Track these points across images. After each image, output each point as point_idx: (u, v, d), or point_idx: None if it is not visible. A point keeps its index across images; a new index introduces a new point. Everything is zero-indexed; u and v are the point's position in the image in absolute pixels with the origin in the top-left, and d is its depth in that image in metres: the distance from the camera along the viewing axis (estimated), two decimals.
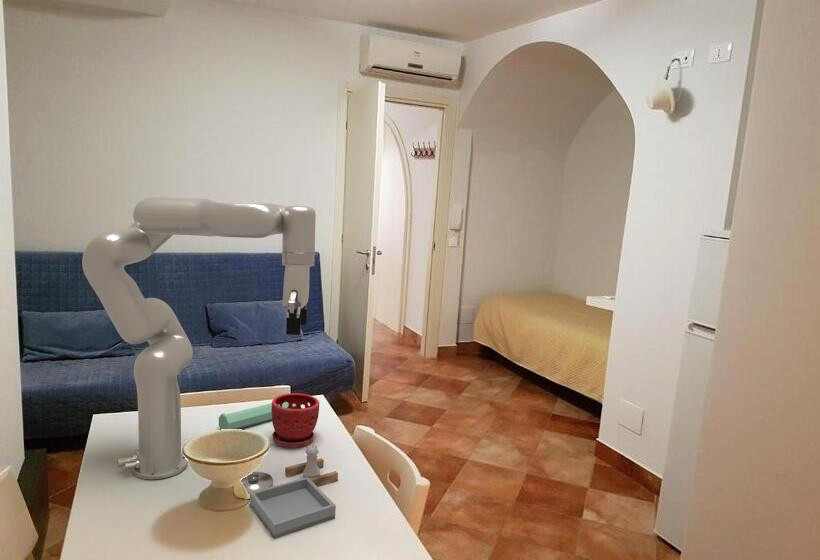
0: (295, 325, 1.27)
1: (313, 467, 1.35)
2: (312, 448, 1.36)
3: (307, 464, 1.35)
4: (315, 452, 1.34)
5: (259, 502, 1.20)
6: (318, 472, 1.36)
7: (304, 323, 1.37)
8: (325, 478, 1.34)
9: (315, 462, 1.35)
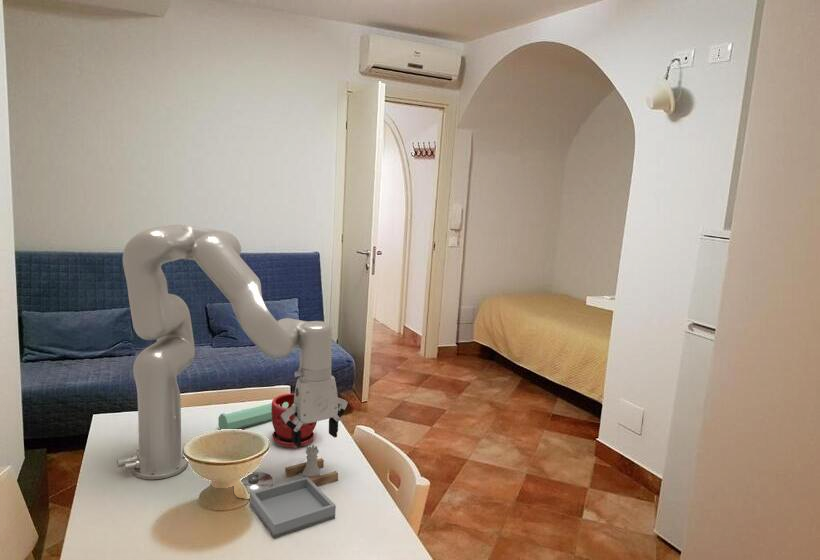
0: None
1: (313, 467, 1.35)
2: (312, 448, 1.36)
3: (307, 464, 1.35)
4: (315, 452, 1.34)
5: (259, 502, 1.20)
6: (318, 472, 1.36)
7: None
8: (325, 478, 1.34)
9: (315, 462, 1.35)
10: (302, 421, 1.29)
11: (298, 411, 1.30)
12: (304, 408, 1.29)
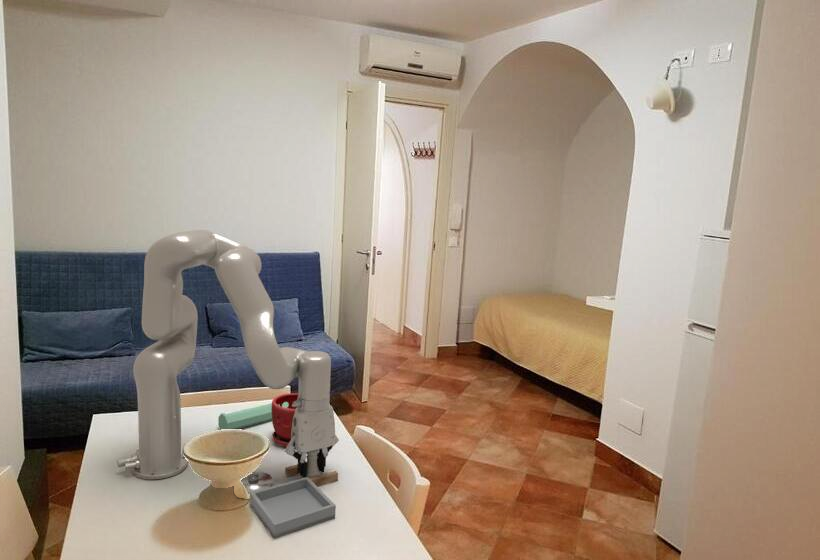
0: None
1: (313, 467, 1.35)
2: None
3: (307, 464, 1.35)
4: (315, 452, 1.34)
5: (259, 502, 1.20)
6: (318, 472, 1.36)
7: None
8: (325, 478, 1.34)
9: (315, 462, 1.35)
10: (299, 450, 1.30)
11: (295, 440, 1.31)
12: (301, 438, 1.30)
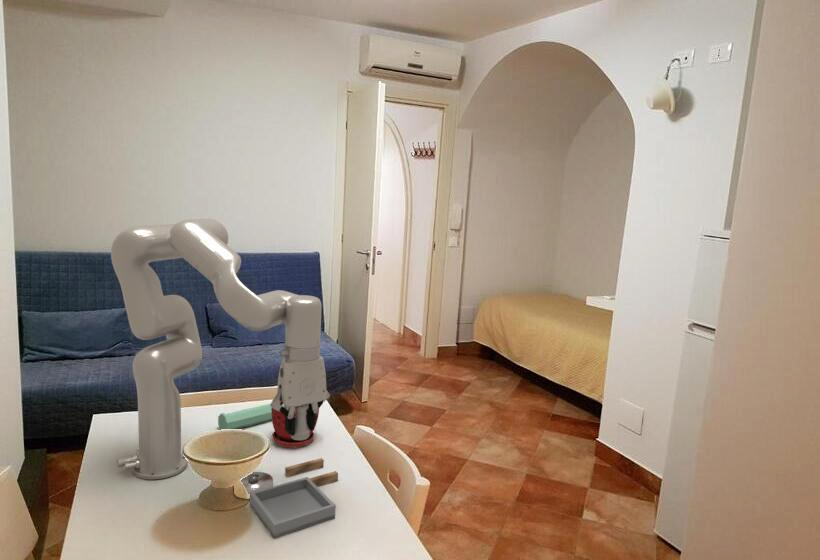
0: None
1: (302, 424, 1.22)
2: None
3: (295, 421, 1.22)
4: (304, 407, 1.22)
5: (259, 502, 1.20)
6: (308, 430, 1.23)
7: None
8: (325, 478, 1.34)
9: (304, 419, 1.22)
10: (287, 404, 1.17)
11: (282, 393, 1.18)
12: (289, 390, 1.17)
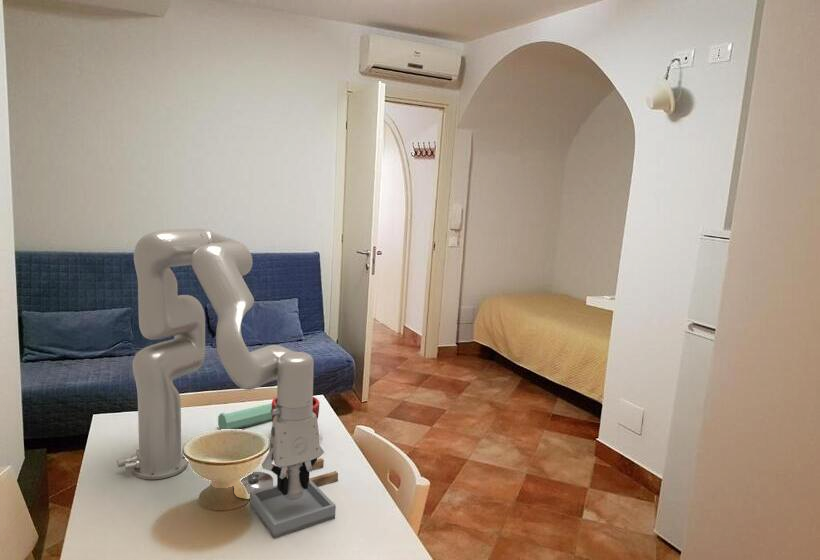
0: None
1: (295, 482, 1.19)
2: None
3: (288, 479, 1.20)
4: (297, 466, 1.19)
5: (259, 502, 1.20)
6: (301, 488, 1.20)
7: None
8: (325, 478, 1.34)
9: (297, 477, 1.20)
10: (278, 465, 1.15)
11: (274, 453, 1.16)
12: (281, 450, 1.15)
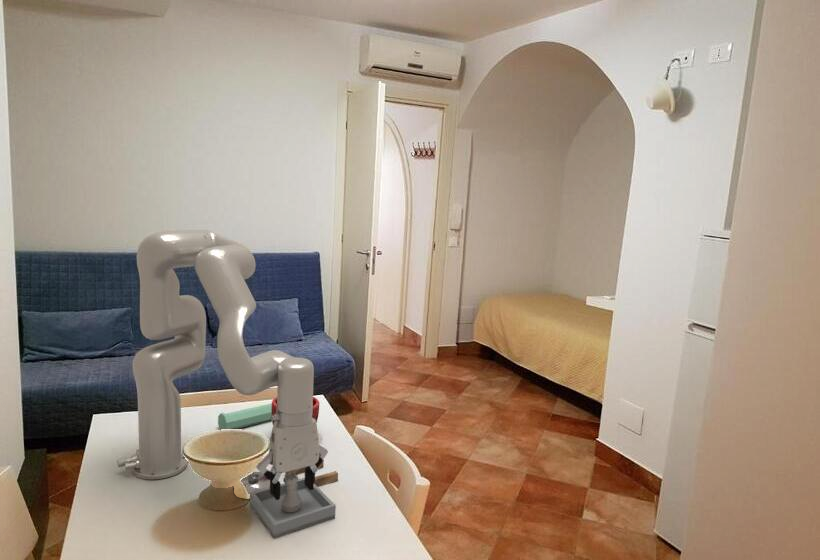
0: None
1: (292, 496, 1.20)
2: (291, 476, 1.20)
3: (286, 493, 1.20)
4: (294, 481, 1.19)
5: (259, 502, 1.20)
6: (299, 501, 1.21)
7: None
8: (325, 478, 1.34)
9: (295, 491, 1.20)
10: (278, 470, 1.15)
11: (273, 459, 1.16)
12: (280, 456, 1.15)
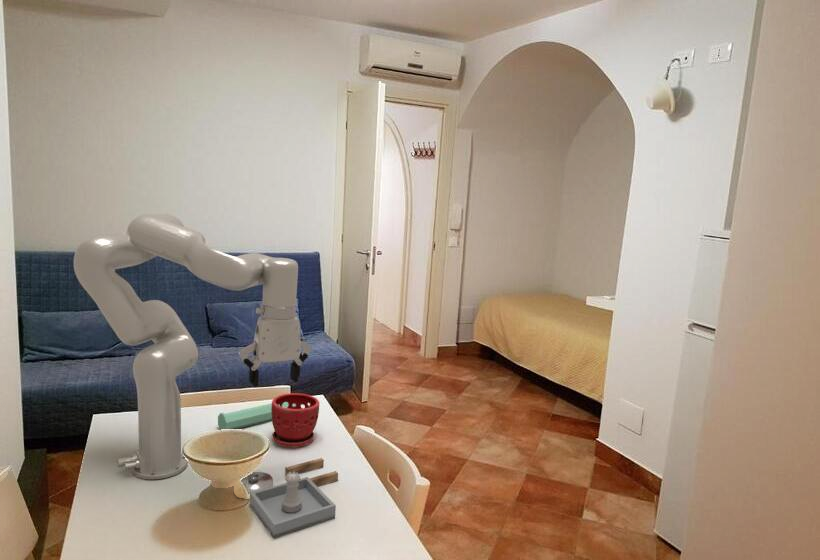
0: None
1: (293, 496, 1.20)
2: (293, 475, 1.21)
3: (287, 493, 1.20)
4: (296, 479, 1.20)
5: (259, 502, 1.20)
6: (299, 502, 1.21)
7: None
8: (325, 478, 1.34)
9: (296, 490, 1.21)
10: (260, 360, 1.24)
11: (256, 349, 1.24)
12: (263, 346, 1.23)
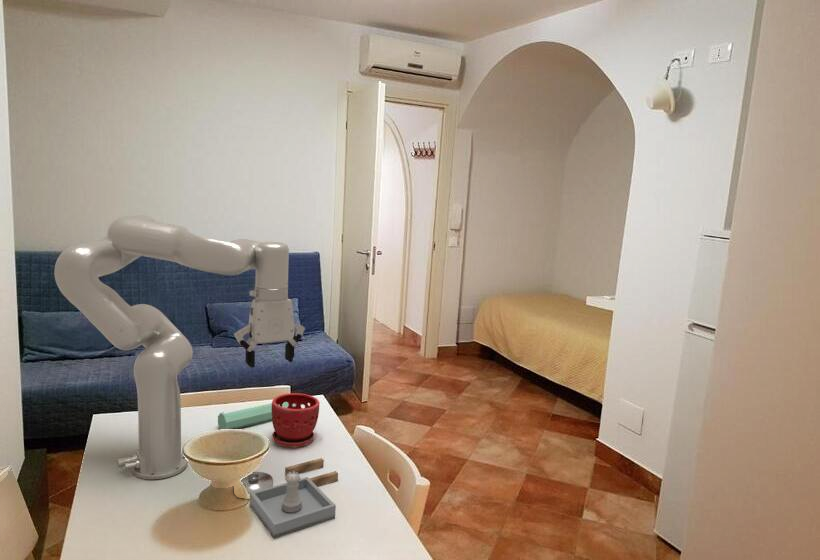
0: None
1: (293, 496, 1.20)
2: (293, 475, 1.21)
3: (287, 493, 1.20)
4: (296, 479, 1.20)
5: (259, 502, 1.20)
6: (299, 501, 1.21)
7: None
8: (325, 478, 1.34)
9: (296, 490, 1.21)
10: (256, 340, 1.28)
11: (252, 331, 1.28)
12: (258, 327, 1.28)
